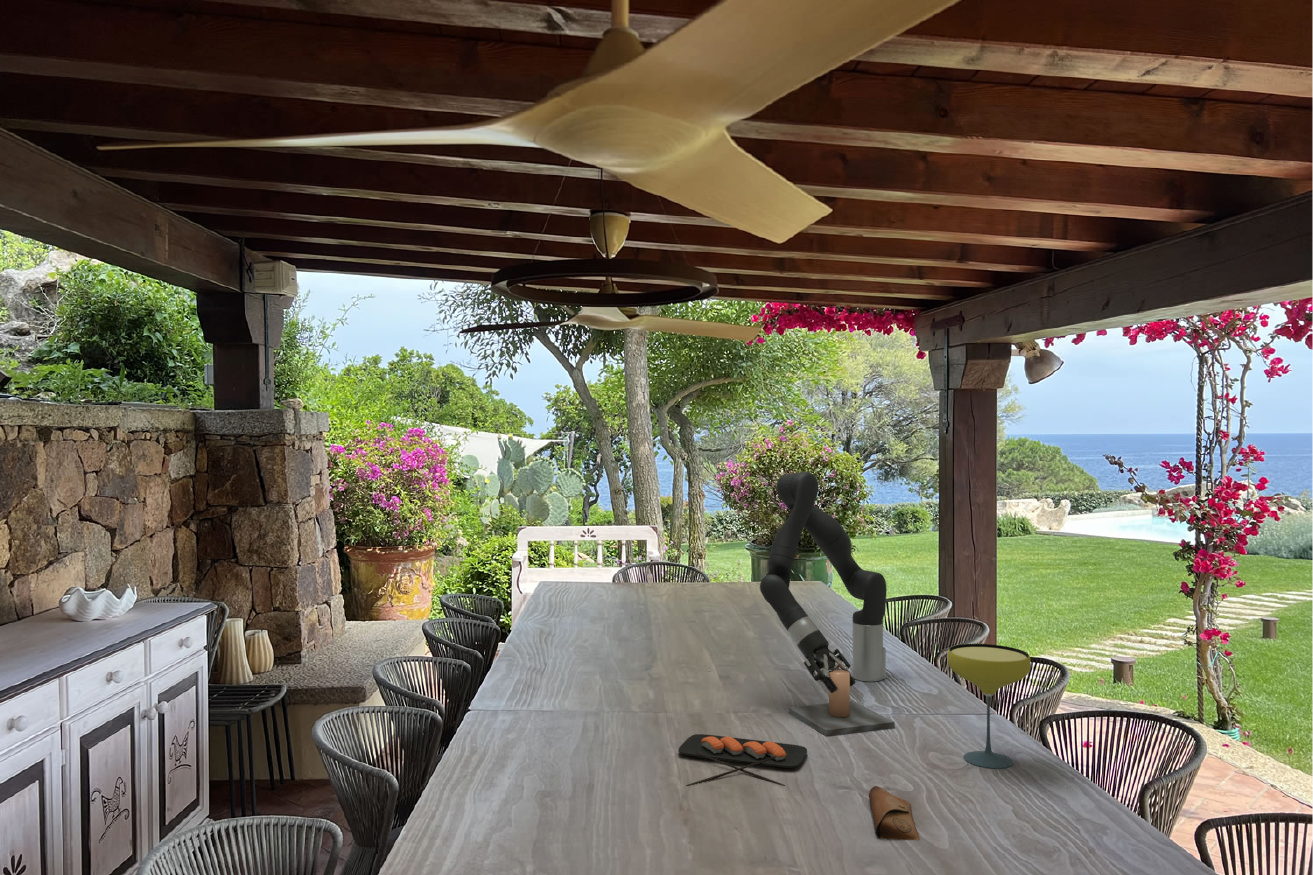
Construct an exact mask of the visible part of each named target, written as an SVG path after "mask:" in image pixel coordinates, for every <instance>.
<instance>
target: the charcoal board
mask: <svg viewBox="0 0 1313 875" xmlns="http://www.w3.org/2000/svg"><path fill="white" fill-rule="evenodd" d="M788 714H790V715H791V716H792V717H794V718H795V719H797V718H798V720H800V721H801V722H802V723H804V724H806V725H807V726H808V727H810V728H812V729H814V730H815V731H817V732H818V733H821V734H822V735H823V736H825V737H829V736H839V735H845V734H847V735H848V734H856V733H863V732H871V731H878V730H879V731H880V730H888V729H889V730H890V729H895V726H896V725H895V721H894V720H892V719H890V718H888V717H886V716H884V715H882V714H880V713H878V712H876V711H874V710H872V709H870V708H868V707H866V706H864V705H862V704H860V703H859V702H857V701H854V700H850V716H848V717H834V716H831V715H829V702H827V703H820V704H819V703H818V704H808V705H800V706H799V705H798V706H790V707H788Z"/></svg>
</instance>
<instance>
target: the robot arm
mask: <svg viewBox="0 0 1313 875" xmlns="http://www.w3.org/2000/svg"><path fill="white" fill-rule="evenodd" d="M817 478H818V477H816V476H815V474H814V473H812V472H808V471H803V472H801V471H799V472H794V473H793V472H791V473H785V474H783V475H780V477H779V478H778V479H777V481H776V491H777V494H778V496H779V498H780V501H781V502H782V503H783V504H784V505H785V507H787V509H788V510H789V511H790V514H789V516H788V517H787V519H786V520H785V522H784V523H783V524H782V526H781V527H780V529H779V530H778V532H777V533H776V535H775V537H774V539H773V541H772V545H771V549H770V552H769V557H768V562H767V563H768V572H767V575H766V576H765V575H764V577H762V579H761V580H760V584H759V590H760V592H761V595H762V597H763V599H764V600H765V601H766V602H767V603H768V604H769V605H770V607H771V608H772V609H773V611H774V612H775V613H776V615H777V617H778V618H779V621H780V622H781V624H782V625H783V627H784V628H785V630H786V631H787V632H788V633H789V636H790V638H791V639H792V641H793V642H794V643H795V645H796V646H797V648H798V649H799V651H800V652H801V654H802V655H803V657H804V658H805V659H806V660H804V662H803V664H804V666H805V668H806V669H807V670H808V672H809V673H810V675H811V676H812V679H814V681H815V682H817V681H820V682H822V683H823V684H824V686H825V687H826V689H827V690H828V692H829V691H830V692H831V693H834V692H835V691H836V690H837V686H836V685H835V683H834V682H833V681H832V679H831V678H830V677H828V672H829V671H831V670H845V671H848V672H849V670H850V667H851V664H850V663H849V661H848V660H847V659H846V657H845V656H844V655H843V653H841V651H840V650H839V649H838V648H836V649H834V650H833V651H831V649H830V648H829V644H830V643H829V641H828V640H827V637H825V635H824V634H823V633H822V631H821V629H820V628H818V626H817V624H816V623H815V622H814V621H813V620H812V619H811V618H810V617H809V615H808V613H806V611H805V609H804V608H803V607H802V605H800V603H799V602H798V601H797V600H796V598H795V596H794V595H793V593H792V592H791V590H790V582H791V577H792V568H793V565H794V561H795V557H796V553H797V550H798V546H799V542H800V539H801V536H802V533H803V531H804V529H805V530H806V531H807V532H808V534H809V535H810V536H811V538H812V539H813V540H814V542H815V543H816V546H818V547H819V549H820V551H821V552H822V553H823V554H824V556H825V557H826V558H827V560H828V561H829V563H830V564H831V565H832V567H833V568H834V569H835V571H836V572H837V574H838V576H839V578H840V579H841V582H842V583H843V586H844V587H845V589H846V590H847V592H848V593H849V594H850V596H851V597H853V598H854V599H856V600H862V601H863V604H862V609H861V610H860V609H859V610H857V611H854V612H853V614H852V667H851V668H852V674H851V673H850V672H849V673H850V688H851V687H852V686H854V685H855V684H856V680H857V681H860V682H861V681H862V682H863V681H864V682H879V681H882V680H886V678H887V677H886V676H887V675H886V671H887V670H886V669H887V668H886V667H887V666H886V660H887V659H886V658H887V657H886V656H887V655H886V652H887V650H886V647H884V618H885V614H886V609H887V606H886V604H887V590H888V589H887V582H886V578H885V577H884V575H883V574H881V573H880V572H877V571H872V570H866V569H863V568H861V567H860V565H858V563H857V562H856V560H855V559H854V557H853V554H852V542H851V539H850V536H849V535H848V534H847V532H846V530H845V529H844V527H843V526H842V525H841V523H839V521H838V520H837V519H835V518H834V517H833V516H831V515H830V514H828V513H826V512H825V511H823V510H822V509H820V508H819V507H817V506H816V505H815V503H816V501H817V500H816V499H817V497H818V493H819V482H818V479H817ZM815 671H816V672H815Z"/></svg>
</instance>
